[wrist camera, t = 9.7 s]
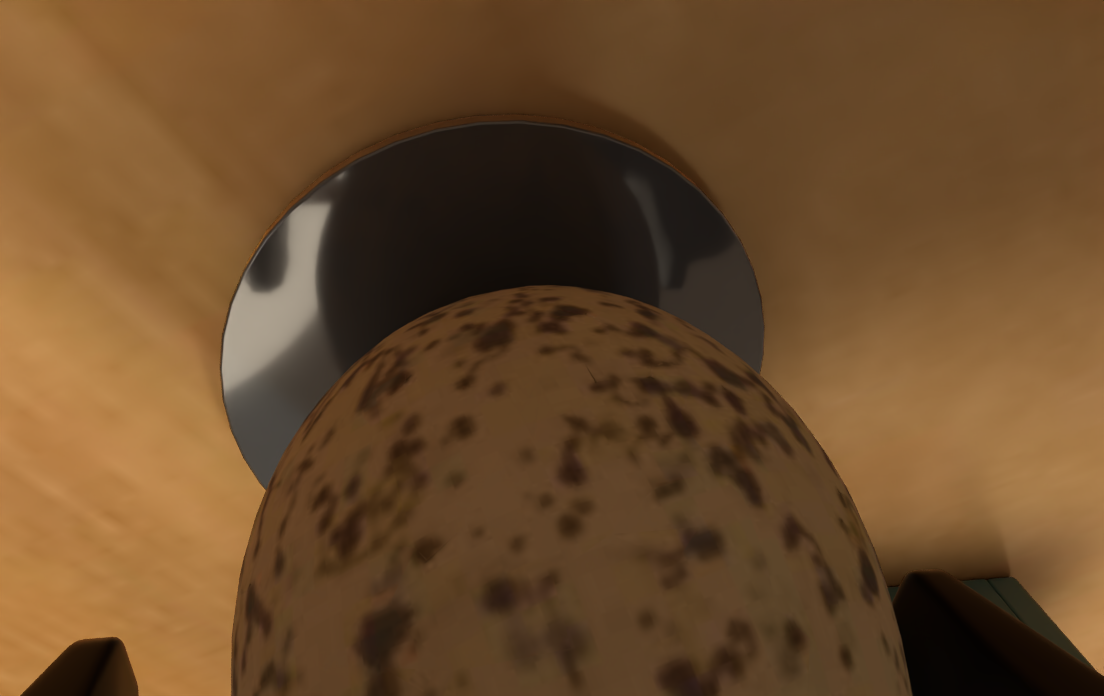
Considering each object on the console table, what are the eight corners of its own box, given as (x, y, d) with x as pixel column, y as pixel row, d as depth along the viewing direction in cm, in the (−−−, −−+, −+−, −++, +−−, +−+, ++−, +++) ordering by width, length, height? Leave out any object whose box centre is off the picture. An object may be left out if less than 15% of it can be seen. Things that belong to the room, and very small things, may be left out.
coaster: (813, 122, 11) (825, 130, 11) (706, 548, 16) (712, 563, 16) (176, 101, 10) (167, 108, 9) (261, 580, 14) (257, 597, 14)
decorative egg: (798, 279, 12) (1627, 1117, 4) (607, 575, 15) (848, 1406, 7) (369, 113, 10) (168, 1411, 1) (242, 505, 13) (-58, 1660, 5)
